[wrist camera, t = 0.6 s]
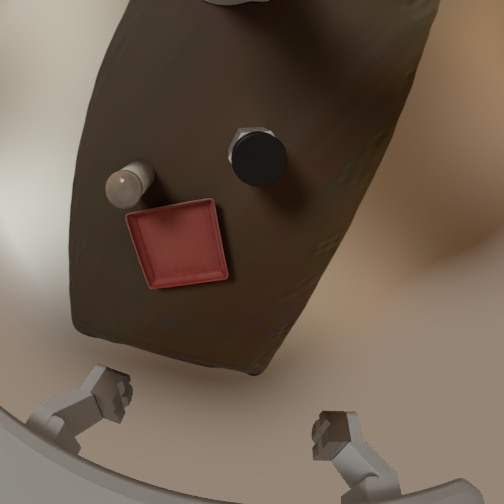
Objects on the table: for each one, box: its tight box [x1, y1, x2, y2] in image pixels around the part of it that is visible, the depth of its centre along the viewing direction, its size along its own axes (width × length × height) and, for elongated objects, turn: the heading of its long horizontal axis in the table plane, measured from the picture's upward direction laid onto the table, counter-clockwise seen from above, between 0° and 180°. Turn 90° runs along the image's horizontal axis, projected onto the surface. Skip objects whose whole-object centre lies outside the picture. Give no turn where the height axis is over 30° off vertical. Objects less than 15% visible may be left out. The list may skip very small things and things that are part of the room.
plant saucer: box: [125, 198, 228, 289], centre depth 56 cm, size 18×18×3 cm
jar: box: [228, 127, 287, 186], centre depth 44 cm, size 9×8×12 cm
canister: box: [106, 160, 155, 209], centre depth 45 cm, size 6×6×10 cm
